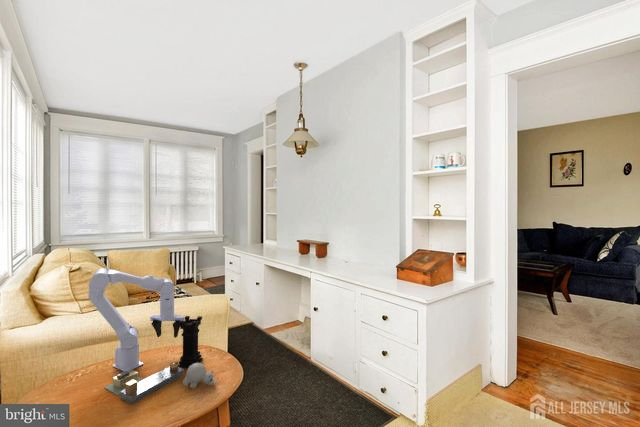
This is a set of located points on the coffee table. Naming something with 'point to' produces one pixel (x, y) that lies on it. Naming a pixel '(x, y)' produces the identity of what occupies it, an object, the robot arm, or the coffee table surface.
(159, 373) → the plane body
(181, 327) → the chess piece
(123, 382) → the pale yellow block
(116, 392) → the rubber mat
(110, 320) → the robot arm
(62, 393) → the coffee table surface
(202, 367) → the chubby cartoon animal
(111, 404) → the coffee table surface
